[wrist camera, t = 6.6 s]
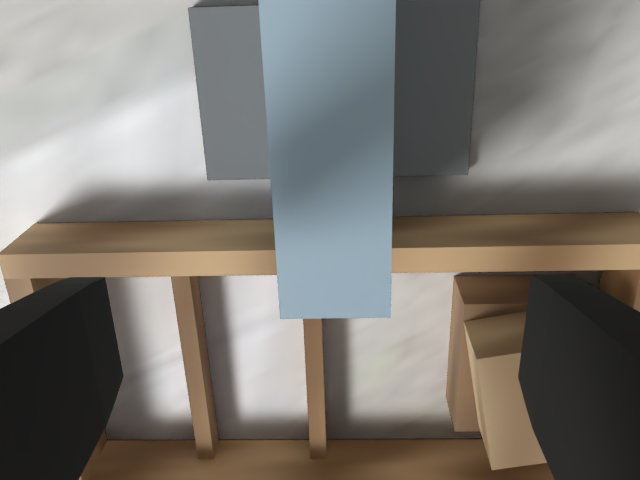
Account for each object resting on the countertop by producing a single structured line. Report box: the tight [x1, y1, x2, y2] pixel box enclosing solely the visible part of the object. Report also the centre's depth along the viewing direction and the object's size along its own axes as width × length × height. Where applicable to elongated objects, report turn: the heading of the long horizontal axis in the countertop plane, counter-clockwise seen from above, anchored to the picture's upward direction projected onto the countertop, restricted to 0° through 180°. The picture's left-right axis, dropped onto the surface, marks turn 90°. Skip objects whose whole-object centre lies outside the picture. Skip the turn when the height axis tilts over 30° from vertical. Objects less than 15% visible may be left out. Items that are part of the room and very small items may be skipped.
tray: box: [0, 212, 640, 480], centre depth 21 cm, size 20×10×2 cm, turn 92°
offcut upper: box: [464, 311, 547, 470], centre depth 19 cm, size 3×4×2 cm
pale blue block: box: [258, 0, 396, 319], centre depth 15 cm, size 2×8×6 cm, turn 2°
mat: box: [188, 0, 480, 180], centre depth 18 cm, size 8×5×1 cm, turn 92°
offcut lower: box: [446, 274, 577, 432], centre depth 21 cm, size 4×5×2 cm
